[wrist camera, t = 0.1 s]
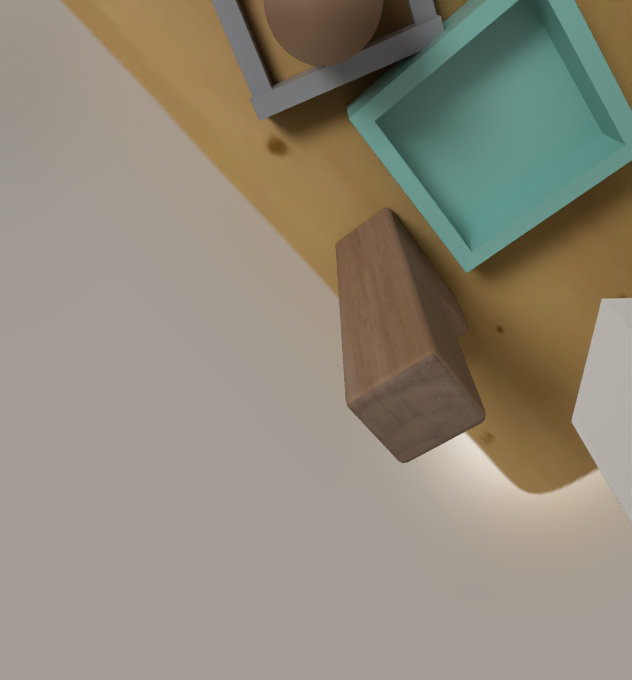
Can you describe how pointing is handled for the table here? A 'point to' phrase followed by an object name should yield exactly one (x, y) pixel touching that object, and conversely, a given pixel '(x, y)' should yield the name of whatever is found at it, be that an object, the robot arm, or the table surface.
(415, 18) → the grey flat open frame
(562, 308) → the table surface
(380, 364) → the wooden block
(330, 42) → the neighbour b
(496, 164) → the tray
